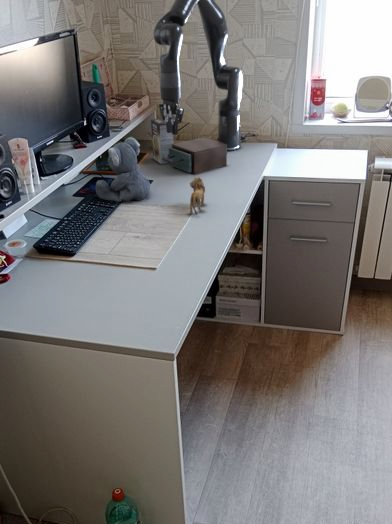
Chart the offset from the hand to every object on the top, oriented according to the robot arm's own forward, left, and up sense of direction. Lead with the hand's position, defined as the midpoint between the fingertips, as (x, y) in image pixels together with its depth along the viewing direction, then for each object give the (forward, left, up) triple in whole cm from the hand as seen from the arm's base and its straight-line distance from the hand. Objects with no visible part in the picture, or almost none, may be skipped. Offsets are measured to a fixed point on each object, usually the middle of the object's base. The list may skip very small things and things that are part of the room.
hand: (172, 133), depth 218 cm
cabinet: (-13, 0, -15) cm, 20 cm away
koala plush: (+29, +11, -15) cm, 34 cm away
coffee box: (-6, -16, -15) cm, 23 cm away
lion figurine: (+18, +38, -15) cm, 44 cm away
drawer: (-8, 0, -14) cm, 16 cm away
